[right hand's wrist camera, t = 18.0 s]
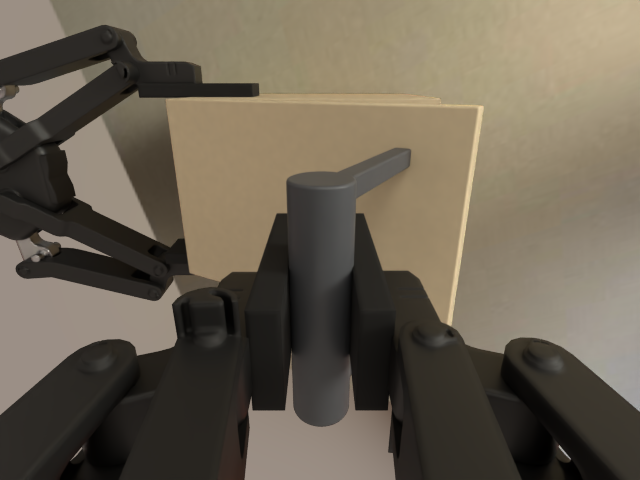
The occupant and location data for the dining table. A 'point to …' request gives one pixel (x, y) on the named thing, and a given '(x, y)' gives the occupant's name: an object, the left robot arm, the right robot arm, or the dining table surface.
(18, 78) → the left robot arm
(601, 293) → the dining table surface
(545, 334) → the dining table surface
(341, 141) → the lid
